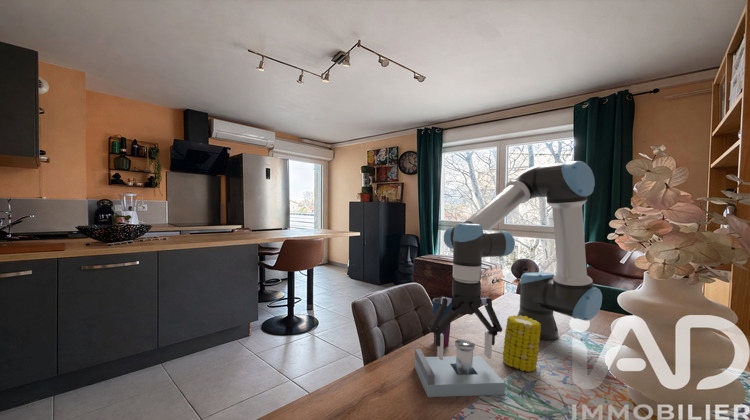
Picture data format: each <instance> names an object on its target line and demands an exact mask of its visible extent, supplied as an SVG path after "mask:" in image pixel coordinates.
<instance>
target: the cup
mask: <svg viewBox="0 0 750 420" xmlns="http://www.w3.org/2000/svg"><path fill="white" fill-rule="evenodd" d="M440 298H441V297H434V298H433V299H432V317H433V316H434V314H435V312H436V310H437V308H438V306H439V304H440ZM452 306H453V305H452V304H451V303H449V305H448V306H447V308H446V310H445V312H444V314H443V316H442V318H441V320H442V319H443V318H444V316H445V315H446V314H447V313H448V312H449V309H450V308H451V307H452ZM441 320H440V321H441ZM451 324H452V322H451V323H450V324H449V325H448V326H447V327H446V329H445V330H444V331H443V332H442V334H443V335H444V345H443V348H447V347H448V346H449V343H450V334H451ZM434 335H435V333H433V336H434ZM433 344H434V345H435V343H434V342H433Z"/></svg>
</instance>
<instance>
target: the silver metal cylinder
mask: <svg viewBox="0 0 750 420" xmlns="http://www.w3.org/2000/svg"><path fill="white" fill-rule="evenodd" d="M454 346H455V348H456V349H455V353H456V354H455V356H456V373H457V375H472V366H473V356H474V351H475V347H476V346H475V343H474V342H473V341H471V340H468V339H465V338H464V339H463V338H462V339H461V338H460V339H455V341H454Z"/></svg>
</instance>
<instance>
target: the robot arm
mask: <svg viewBox="0 0 750 420" xmlns="http://www.w3.org/2000/svg"><path fill="white" fill-rule="evenodd" d="M595 186H596V182H595V176H594V173H593V170H592V169H591V167H590V166H589V165H588V164H587V163H585V162H584V161H581V160H573V161H572V160H571V161H569V160H567V161H561V162H554V163H547V164H538V165H534V166H531V167H529V168H527V169H526V170H524V171H522V172H521V173H519V174H517V175H516V176H514V177H513V178H512V179H511V180H509V181H508V182H506V184H505V187H504V189H502V190H501V191H500V192H499V193H498V194H497V195H495V196H494V197H493V198H492V199H491V200H490V201H488V202H487V203H486V204H485V205H484V206H482V207H481V208H480V209H479V210H477V211H476V212H475V213H474V214H473V215H471V216H470V217H469V218H468V219H466V220H465V221H464V222H462V223H460V222H459V223H456V224H455V226H451V227H448V228H447V229H446V230H445V231H444V234H443V242H444V244H445V246H446V247H447V248H449V249H451V250H453V251H452V252H453V253H452V255H453V256H452V278H453V279H452V281H451V282H452V285H451V297H445V296H444V295H441V296H440V297H439V298H440V304H439V306H438V308H437V310H436V312H435V314H434V316H433V315H432V318H431V320H430V322H429V324H428V326H427V329H428V331H429V332H430V333H432V334H433V344H434V343H435V344H434V345H435V347H437V350H436V351H437V352H436V357H439V359H440V360H443V357H444V347H443V345H444V335H443V334H442V332H443V331H444V330H445V329H446V327H447V326H448V325H449V324H450V323H451V324H452V322H453V320H454V319H455V318H456V317H458V316H459V315H462V316H464V315H468V316H471V315H473V314H475V315H476V316H477V318H478V319H479V320H480V322H481V324H482V325H483V326H484V327H485V328H486V330H485V331H484V348H483V350H484V351H483V354H484V356H485V357H486V358H487V359H488V360H492V352H493V351H492V350H493V346H495V344H496V336H497V335H498V332H499V333H502V332H503V327H502V325H501V324H500V321H499V318H498V317H497V314H496V312H495V310H494V307H493V301H492V298H491V297H488V296H487V295H485V296H483V297H481V292H482V283H481V280H482V263H483V261H482V259H483V258H491V257H492V258H495V257H499V258H501V257H505V256H509V255H511V253H513V251H514V250H515V246H516V245H515V244H516V242H515V238H514V237H513V235H512V233H510V232H509V231H505V230H501V229H497V230H492V229H493V228H494V227H496V226H497V224H499V223H500V222H501V221H502V220H503V219H504V218H506V217H507V216H508V215H509V214H510V213H511V212H513V211H514V210H515V209H516V208H517V207H519V206H520V204H525V203H527V202H529V200H531V199H534V198H535V199H536V198H546V204H547V205H548V206H550V207H551V208H552V218H553V232H554V245H555V259H556V269H557V270H556V271H557V273H556V274H554V273H551V272H550V273H549V272H524V273H522V275H521V276H520V283H519V286H520V288H519V290H520V291H519V310H518V313H517V315H516V316H520V315H522V316H523V317H524V316H527V317H528V318H532V319H533V320H536V321H537V322H539V323H540V324H541V328H540V329H541V331H540V339H539V340H544V341H545V340H546V341H552V340H557V339H558V337H559V330H558V326H557V323H556V319H555V315H554V312H555V313H559V314H561V315H565V316H566V317H570V318H573V319H576V320H577V319H578V320H581V321H584V322H585V321H586V322H587V321H591V320H593V319H594V318H596V316H597V315H598V314H599V312H600V309H601V307H602V303H603V294H602V291H601V289H600V288H598V287H596V286H594V282H593V279H592V278H591V277H590V276H589V275H588V272H587V258H586V255H587V254H586V245H585V244H586V243H585V242H586V241H585V229H584V214H583V213H584V212H583V205H584V204H586V202H587V201H588V196H591V195H592V194H593V192H594V190H595V189H594V188H595ZM449 303H451V304H452V307H451V308H450V309H449V312H448V313H447V314H446V315H445V316H444V318H443V319H442V320H441V318H442V316H443V314H444V312H445V310H446V308H447V306H448V305H449ZM481 305H483V306H484V308H485V310H486V313H487V315H488V318H489V320H490V322H491V323H492V324H491V323H490V322H489V321H488V319H487V318H486V316H484V314H483V312H482V311H481V310H480V309H479V307H481ZM440 320H441V321H440ZM434 333H435V335H434Z"/></svg>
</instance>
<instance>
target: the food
mask: <svg viewBox="0 0 750 420" xmlns="http://www.w3.org/2000/svg"><path fill="white" fill-rule="evenodd" d="M505 325H506V327H505V331H504V333H505V334H504V339H503V340H504V341H503V344H504V345H503V351H502V362H503V363H504V364H506V366H509V367H512V368H515V369H519V370H520V371H522V372H533V371H535V370H536V369H537V365H538V364H537V363H538V359H539V358H538V355H539V351H540V349H539V348H540V340H541V339H540V331H541V329H540V328H541V324H540V323H539V322H537V321H536V320H533V319H532V318H528V317H527V316H524V317H523V316H522V315H520V316H517V315H509V316H508V317H507V320H506V324H505Z"/></svg>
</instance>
